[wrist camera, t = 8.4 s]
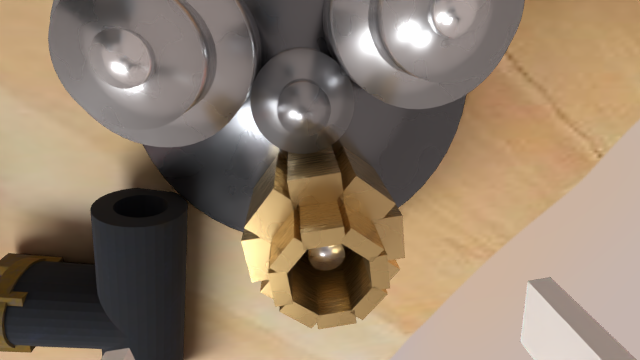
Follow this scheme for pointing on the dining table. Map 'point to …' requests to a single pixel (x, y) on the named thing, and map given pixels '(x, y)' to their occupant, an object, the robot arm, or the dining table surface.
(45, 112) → the dining table surface
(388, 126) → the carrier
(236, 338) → the dining table surface
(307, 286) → the brass stepped collar
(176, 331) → the pipe connector
